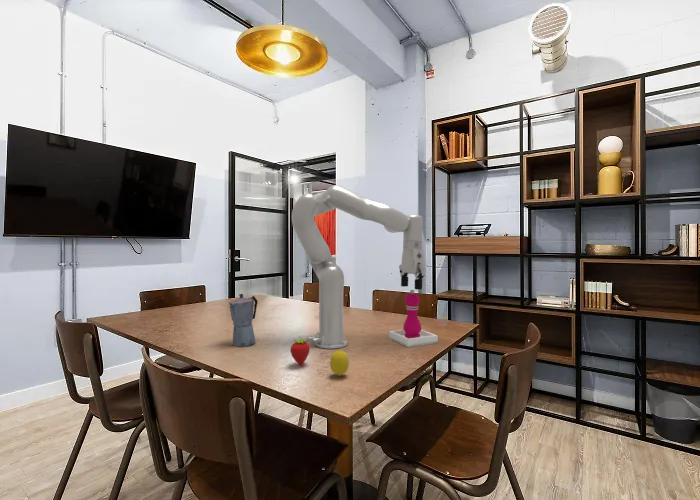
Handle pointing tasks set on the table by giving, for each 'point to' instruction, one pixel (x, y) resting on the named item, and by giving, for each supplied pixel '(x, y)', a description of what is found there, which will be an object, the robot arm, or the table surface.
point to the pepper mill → (412, 316)
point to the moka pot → (243, 320)
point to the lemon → (339, 362)
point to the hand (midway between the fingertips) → (411, 287)
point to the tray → (422, 340)
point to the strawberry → (300, 351)
